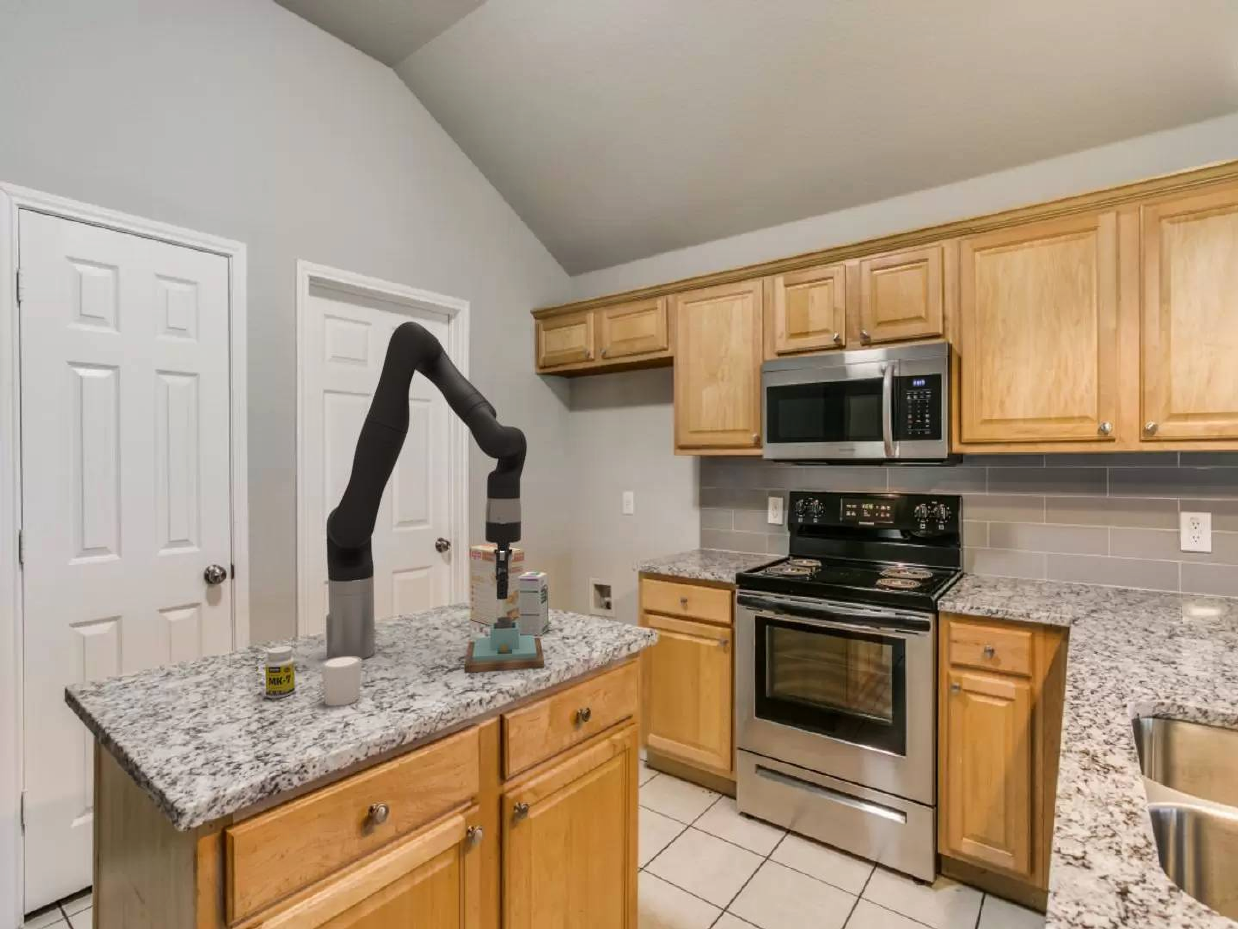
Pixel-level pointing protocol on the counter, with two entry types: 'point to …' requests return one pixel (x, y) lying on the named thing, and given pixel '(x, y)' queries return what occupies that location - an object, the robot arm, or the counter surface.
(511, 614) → the coffeecake box
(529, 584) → the syrup box
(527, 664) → the post block
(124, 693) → the counter surface
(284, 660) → the supplement bottle
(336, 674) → the white short cylinder
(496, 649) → the flange plate
